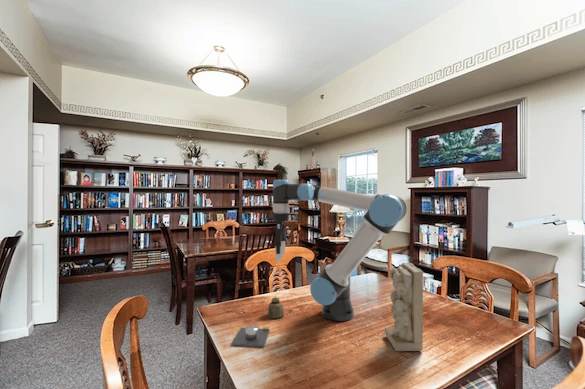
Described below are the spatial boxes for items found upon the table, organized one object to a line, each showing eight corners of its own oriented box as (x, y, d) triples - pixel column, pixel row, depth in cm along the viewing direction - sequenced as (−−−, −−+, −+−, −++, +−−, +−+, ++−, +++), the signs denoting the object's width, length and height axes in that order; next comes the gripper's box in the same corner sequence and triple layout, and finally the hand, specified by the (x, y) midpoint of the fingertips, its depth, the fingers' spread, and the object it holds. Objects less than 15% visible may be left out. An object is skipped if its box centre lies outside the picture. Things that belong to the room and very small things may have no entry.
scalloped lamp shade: (280, 294, 134) (281, 311, 134) (265, 296, 132) (266, 313, 131) (285, 299, 127) (285, 317, 127) (269, 302, 125) (270, 320, 124)
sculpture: (384, 335, 112) (384, 260, 112) (410, 335, 112) (410, 261, 112) (395, 353, 99) (395, 269, 99) (423, 353, 99) (424, 269, 99)
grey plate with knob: (269, 331, 114) (269, 321, 114) (263, 347, 102) (264, 336, 102) (241, 330, 115) (241, 320, 115) (232, 345, 103) (232, 334, 103)
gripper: (276, 210, 144) (276, 251, 144) (268, 214, 119) (267, 263, 119) (291, 211, 143) (290, 252, 143) (285, 214, 118) (285, 264, 118)
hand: (280, 257), depth 131 cm, fingers open, 13 cm apart
